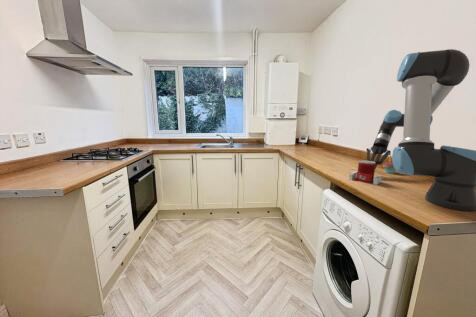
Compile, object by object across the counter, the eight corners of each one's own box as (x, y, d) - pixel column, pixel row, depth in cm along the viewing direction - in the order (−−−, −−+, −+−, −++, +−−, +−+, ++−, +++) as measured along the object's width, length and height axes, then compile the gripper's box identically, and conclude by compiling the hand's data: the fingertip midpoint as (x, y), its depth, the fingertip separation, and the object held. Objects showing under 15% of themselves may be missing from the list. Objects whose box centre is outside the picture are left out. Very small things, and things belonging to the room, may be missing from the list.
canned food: (375, 183, 110) (378, 163, 108) (359, 182, 111) (362, 162, 109) (369, 179, 117) (372, 160, 115) (354, 178, 119) (356, 159, 117)
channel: (354, 176, 122) (355, 171, 121) (381, 181, 112) (381, 175, 112) (349, 179, 116) (349, 173, 115) (376, 185, 106) (377, 178, 106)
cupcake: (378, 171, 137) (381, 153, 135) (390, 170, 138) (393, 153, 136) (389, 174, 129) (392, 155, 126) (401, 174, 129) (404, 155, 127)
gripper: (394, 147, 124) (383, 178, 117) (370, 145, 134) (358, 173, 126) (394, 138, 120) (382, 170, 112) (369, 137, 129) (356, 166, 121)
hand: (370, 172), depth 119 cm, fingers closed
